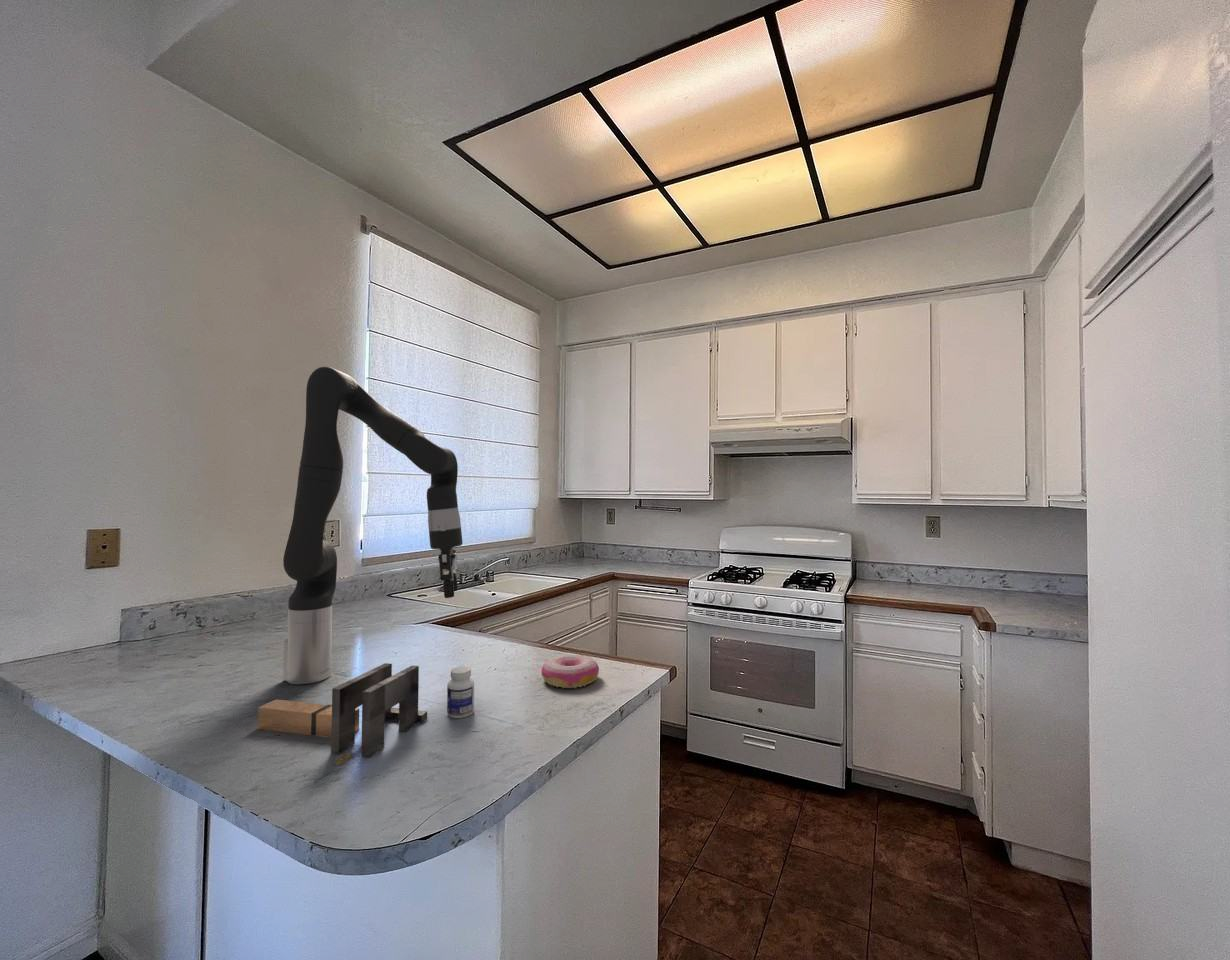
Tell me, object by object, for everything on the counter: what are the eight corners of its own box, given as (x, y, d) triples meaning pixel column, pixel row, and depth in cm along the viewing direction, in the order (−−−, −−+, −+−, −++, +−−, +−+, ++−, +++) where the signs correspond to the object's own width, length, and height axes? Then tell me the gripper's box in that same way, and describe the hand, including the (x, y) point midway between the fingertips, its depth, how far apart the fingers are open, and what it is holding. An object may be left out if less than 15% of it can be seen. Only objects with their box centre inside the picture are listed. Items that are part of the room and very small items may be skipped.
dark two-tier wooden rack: (313, 761, 87) (314, 694, 87) (387, 714, 105) (388, 659, 106) (360, 768, 85) (361, 699, 85) (427, 719, 103) (428, 663, 104)
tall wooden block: (257, 728, 99) (258, 707, 99) (276, 719, 103) (276, 699, 103) (343, 739, 95) (343, 716, 95) (359, 729, 99) (359, 707, 99)
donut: (530, 686, 122) (530, 664, 122) (560, 668, 134) (560, 649, 134) (580, 695, 116) (581, 673, 116) (607, 676, 128) (607, 656, 128)
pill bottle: (450, 708, 109) (450, 665, 109) (476, 707, 109) (476, 664, 109) (444, 719, 103) (444, 674, 103) (471, 718, 104) (471, 673, 104)
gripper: (433, 528, 133) (439, 591, 133) (424, 531, 119) (431, 602, 119) (463, 525, 135) (469, 587, 134) (458, 527, 121) (465, 597, 120)
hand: (451, 594), depth 126 cm, fingers open, 8 cm apart
